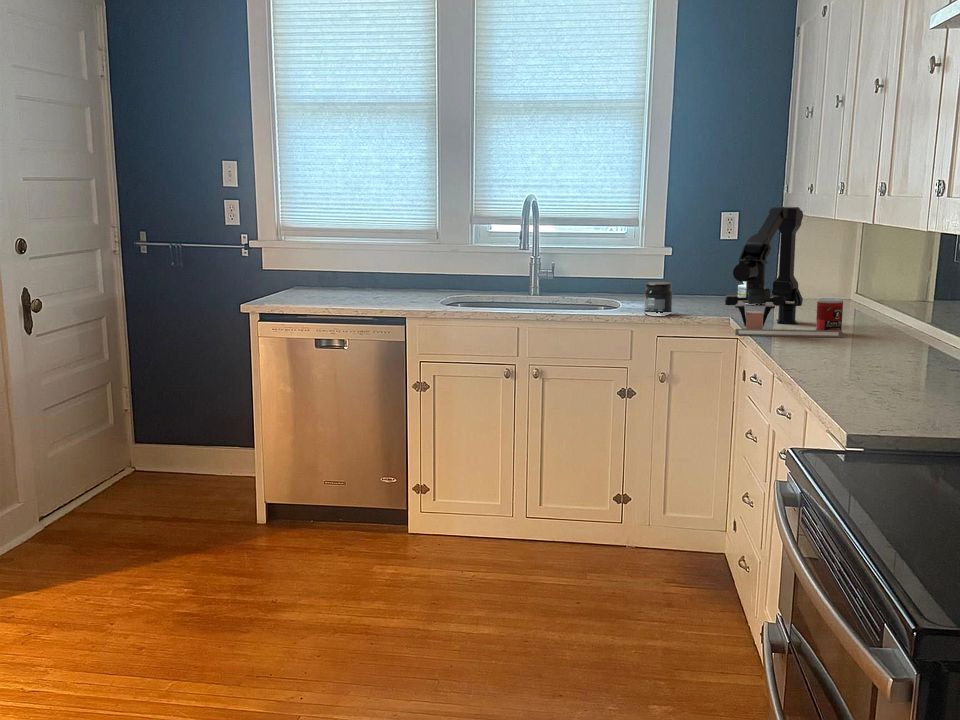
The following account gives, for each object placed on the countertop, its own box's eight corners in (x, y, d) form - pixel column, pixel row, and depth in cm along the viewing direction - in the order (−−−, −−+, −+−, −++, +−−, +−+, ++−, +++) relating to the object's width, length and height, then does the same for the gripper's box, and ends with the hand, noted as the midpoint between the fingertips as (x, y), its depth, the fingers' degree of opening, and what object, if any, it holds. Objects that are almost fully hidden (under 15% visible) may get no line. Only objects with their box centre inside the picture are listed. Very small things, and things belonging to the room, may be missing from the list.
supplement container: (670, 312, 340) (671, 281, 338) (673, 316, 330) (674, 284, 327) (642, 313, 341) (643, 281, 339) (644, 316, 331) (645, 284, 328)
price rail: (735, 334, 286) (735, 328, 286) (841, 336, 278) (841, 330, 278) (735, 335, 285) (735, 329, 285) (841, 337, 277) (842, 331, 277)
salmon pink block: (745, 332, 289) (746, 314, 288) (745, 329, 296) (745, 311, 295) (762, 333, 288) (763, 314, 287) (761, 329, 295) (762, 311, 294)
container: (736, 303, 362) (738, 272, 360) (753, 302, 365) (754, 271, 362) (747, 306, 355) (749, 273, 353) (764, 304, 357) (765, 272, 355)
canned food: (826, 336, 280) (827, 301, 278) (810, 332, 288) (812, 298, 286) (846, 334, 282) (848, 300, 280) (830, 331, 290) (832, 297, 288)
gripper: (726, 281, 283) (724, 329, 286) (787, 281, 279) (785, 330, 282) (725, 278, 294) (724, 324, 297) (785, 278, 289) (783, 325, 292)
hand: (753, 326), depth 292 cm, fingers closed on salmon pink block, 5 cm apart
